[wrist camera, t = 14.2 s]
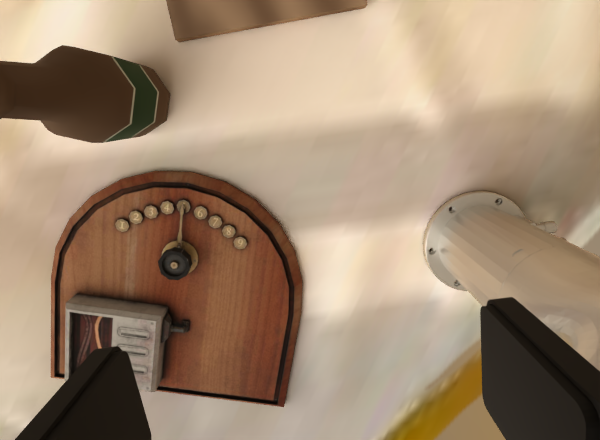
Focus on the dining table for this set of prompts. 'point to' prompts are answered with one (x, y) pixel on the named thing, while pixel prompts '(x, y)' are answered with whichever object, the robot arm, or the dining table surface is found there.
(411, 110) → the dining table surface
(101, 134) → the beer bottle
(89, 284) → the wooden control board
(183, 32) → the walnut board
